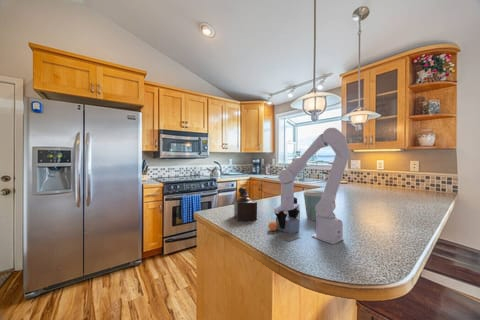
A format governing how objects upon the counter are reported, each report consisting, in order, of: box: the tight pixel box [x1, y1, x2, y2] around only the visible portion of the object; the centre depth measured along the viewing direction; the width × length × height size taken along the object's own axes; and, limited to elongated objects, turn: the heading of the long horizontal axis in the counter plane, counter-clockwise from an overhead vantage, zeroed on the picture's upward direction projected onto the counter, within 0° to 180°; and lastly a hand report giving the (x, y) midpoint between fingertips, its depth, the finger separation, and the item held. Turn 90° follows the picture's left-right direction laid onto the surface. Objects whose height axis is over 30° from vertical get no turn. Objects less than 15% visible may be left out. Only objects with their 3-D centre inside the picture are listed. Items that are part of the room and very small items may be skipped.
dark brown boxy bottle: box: [233, 186, 258, 222], centre depth 106 cm, size 16×11×18 cm
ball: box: [267, 221, 278, 232], centre depth 90 cm, size 4×4×4 cm
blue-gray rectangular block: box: [275, 216, 300, 235], centre depth 91 cm, size 9×6×5 cm
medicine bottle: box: [284, 196, 301, 223], centre depth 104 cm, size 7×7×12 cm
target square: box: [275, 232, 301, 243], centre depth 83 cm, size 7×7×1 cm
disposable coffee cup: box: [303, 189, 324, 221], centre depth 107 cm, size 11×11×15 cm
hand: (287, 226), depth 91 cm, fingers closed on blue-gray rectangular block, 6 cm apart
